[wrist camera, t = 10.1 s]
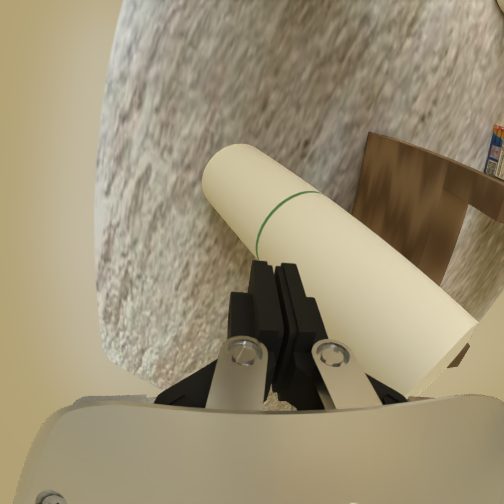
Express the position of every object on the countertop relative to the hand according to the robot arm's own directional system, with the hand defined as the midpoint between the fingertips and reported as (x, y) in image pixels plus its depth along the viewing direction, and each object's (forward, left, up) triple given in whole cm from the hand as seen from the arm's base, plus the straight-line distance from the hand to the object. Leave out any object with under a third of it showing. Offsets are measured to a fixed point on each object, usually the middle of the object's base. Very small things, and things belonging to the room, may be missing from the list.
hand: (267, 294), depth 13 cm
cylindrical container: (+1, -1, -21) cm, 21 cm away
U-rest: (+1, +14, -23) cm, 27 cm away
